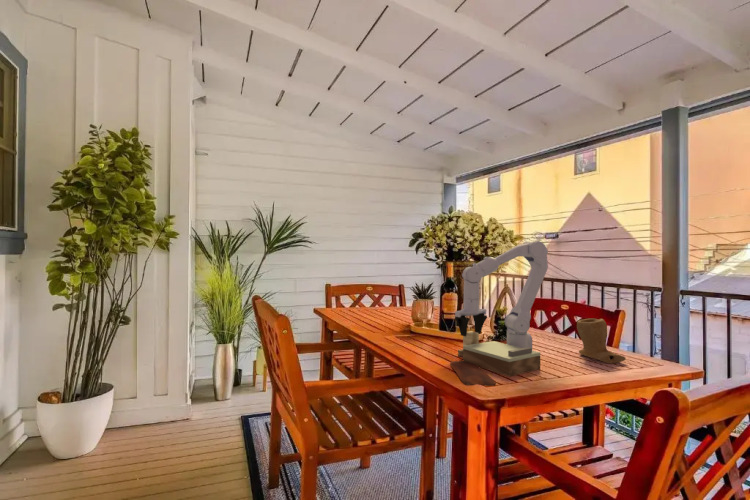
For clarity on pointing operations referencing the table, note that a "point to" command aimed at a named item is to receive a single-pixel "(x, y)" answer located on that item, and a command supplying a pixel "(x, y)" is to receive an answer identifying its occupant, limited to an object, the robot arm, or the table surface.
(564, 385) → the table surface
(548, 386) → the table surface
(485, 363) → the shallow rectangular box
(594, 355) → the brown suede boot
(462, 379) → the wooden tablet
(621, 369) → the table surface
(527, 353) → the lid
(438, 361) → the table surface
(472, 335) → the beige tall block
